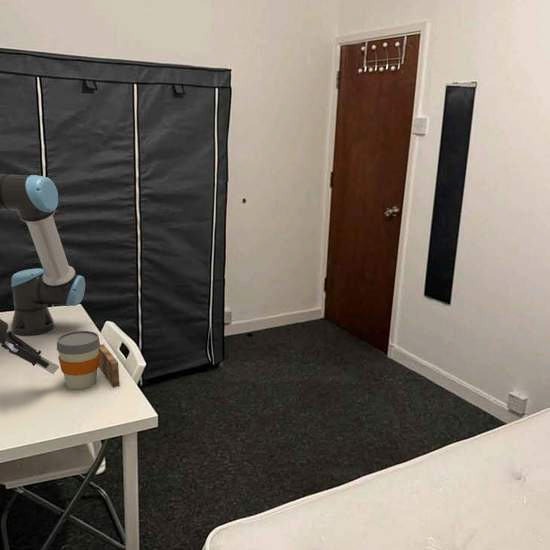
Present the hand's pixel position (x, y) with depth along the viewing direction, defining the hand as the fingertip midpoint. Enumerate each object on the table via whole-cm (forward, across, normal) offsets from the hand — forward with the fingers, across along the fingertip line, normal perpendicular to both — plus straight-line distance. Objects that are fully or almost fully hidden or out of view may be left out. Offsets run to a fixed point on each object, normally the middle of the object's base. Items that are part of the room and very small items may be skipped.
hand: (55, 369), depth 166 cm
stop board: (+15, 0, +7) cm, 17 cm away
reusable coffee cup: (+10, 0, +1) cm, 10 cm away
